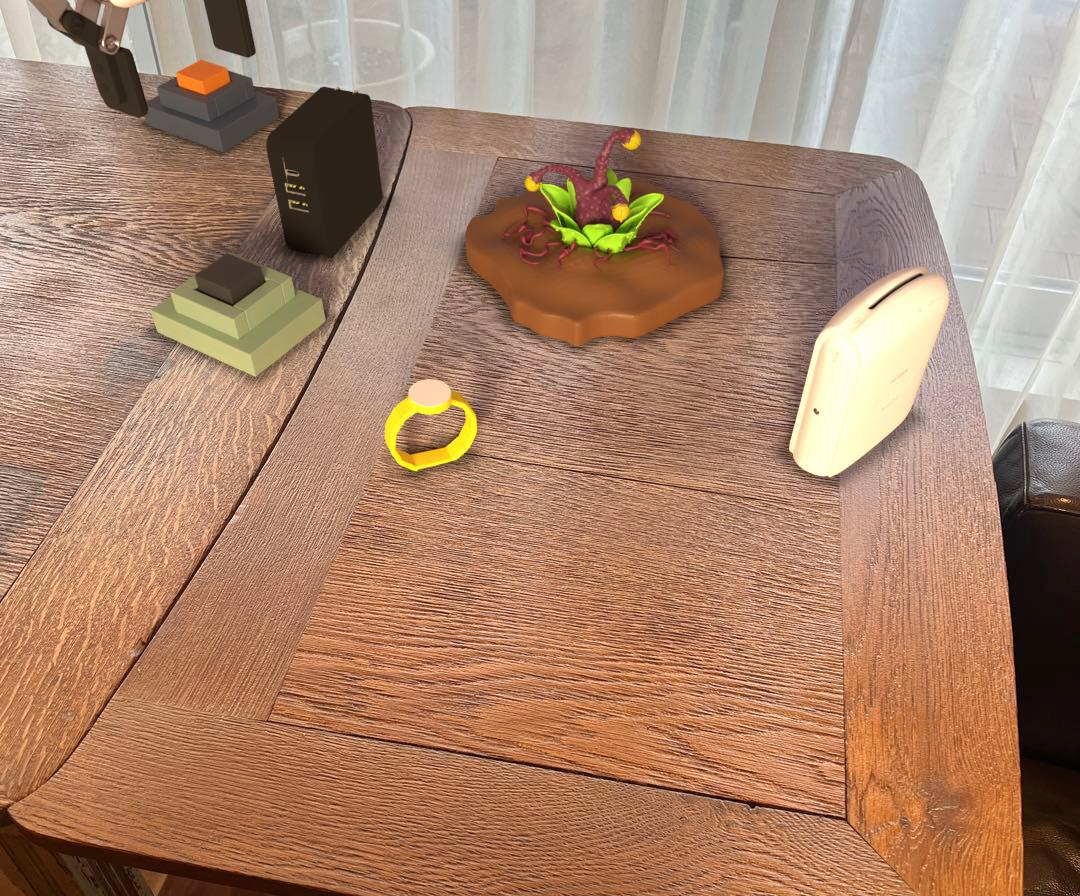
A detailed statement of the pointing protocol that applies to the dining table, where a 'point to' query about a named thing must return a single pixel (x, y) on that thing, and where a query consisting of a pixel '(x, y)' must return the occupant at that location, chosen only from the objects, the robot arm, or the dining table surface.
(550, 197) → the plant
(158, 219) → the dining table surface
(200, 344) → the green stepped button
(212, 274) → the key
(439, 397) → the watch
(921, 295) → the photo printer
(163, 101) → the grey orange stepped button
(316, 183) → the electronic device
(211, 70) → the key
